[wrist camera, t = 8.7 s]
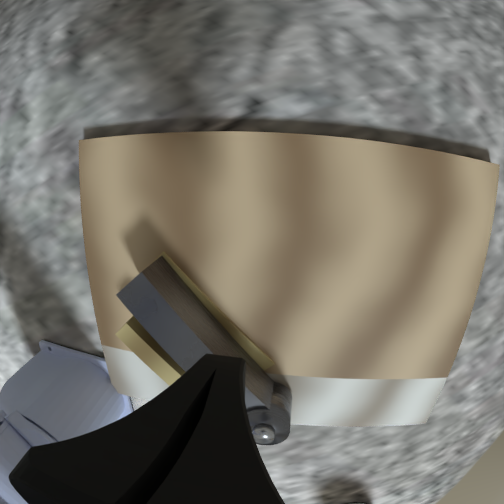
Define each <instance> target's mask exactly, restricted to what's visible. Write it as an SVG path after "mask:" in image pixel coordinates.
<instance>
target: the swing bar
mask: <svg viewBox="0 0 504 504" xmlns="http://www.w3.org/2000/svg"><path fill="white" fill-rule="evenodd" d="M116 296H117V297H118V298H119V299H120V300H121V302H122V303H123V304H124V305H125V306H126V308H127V309H128V310H129V311H130V312H131V313H132V315H133V316H134V317H135V318H136V319H137V320H138V322H139V323H140V324H141V325H142V326H143V327H144V328H145V329H146V331H147V332H148V333H149V334H150V335H151V336H152V337H153V338H154V339H155V340H156V342H157V343H158V344H159V345H160V346H161V347H162V348H163V349H164V350H165V351H166V352H167V353H168V354H169V355H170V356H171V358H172V359H173V360H174V361H175V362H176V363H177V364H178V365H179V366H180V367H181V368H182V369H183V370H184V371H185V372H186V371H188V370H189V369H190V368H191V367H192V366H193V365H194V364H195V363H196V362H197V361H198V360H199V359H200V358H201V357H203V356H204V355H205V354H206V353H207V354H215V355H222V356H231V357H239V358H243V359H244V360H245V361H246V377H245V404H246V409H247V414H248V418H249V423H250V426H251V430H252V433H253V436H254V439H255V442H256V444H259V445H274V444H278V443H281V442H283V441H284V440H285V439H286V438H287V437H288V436H289V433H290V422H291V409H292V394H291V392H290V390H289V389H288V388H287V387H286V386H284V385H283V384H281V383H278V382H274V381H273V380H272V379H271V378H270V377H269V376H268V375H267V374H266V372H265V371H264V370H263V369H262V368H261V367H260V366H259V365H258V364H257V363H256V362H255V361H254V360H253V359H252V358H251V357H250V355H249V354H248V353H247V352H246V351H245V350H244V349H243V348H242V347H241V346H240V345H239V344H238V342H237V341H236V340H235V339H234V338H233V337H232V336H231V335H230V334H229V333H228V331H227V330H226V329H225V328H224V327H223V326H222V325H221V324H220V323H219V321H218V320H217V319H216V318H215V317H214V316H213V315H212V314H211V312H210V311H209V310H208V309H207V308H206V307H205V306H204V304H203V303H202V302H201V301H200V300H199V299H198V297H197V296H196V295H195V294H194V293H193V292H192V290H191V289H190V288H189V287H188V286H187V285H186V283H185V282H184V281H183V280H182V279H181V277H180V276H179V275H178V274H177V273H176V271H175V270H174V269H173V268H172V267H171V265H170V264H169V263H168V262H167V261H166V259H165V258H164V257H163V256H160V257H159V258H158V259H157V260H155V261H154V262H153V263H152V264H151V265H149V266H148V267H147V268H146V269H144V270H143V271H142V272H141V273H140V274H138V275H137V276H136V277H135V278H134V279H133V280H132V281H131V282H129V283H128V284H127V285H126V286H125V287H124V288H123V289H122V290H121V291H119V292H118V293H117V294H116Z"/></svg>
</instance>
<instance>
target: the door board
mask: <svg viewBox="0 0 504 504" xmlns="http://www.w3.org/2000/svg"><path fill="white" fill-rule="evenodd" d="M79 177H80V198H81V213H82V225H83V235H84V244H85V253H86V261H87V268H88V275H89V282H90V288H91V294H92V300H93V305H94V311H95V316H96V321H97V326H98V331H99V335H100V340H101V344H102V349H103V353H104V357H105V361H106V365H107V369H108V373H109V376H110V380H111V384H112V385H113V386H114V388H115V389H116V390H117V392H118V393H119V394H123V395H126V396H130V397H134V398H137V399H141V400H145V401H150V400H152V399H153V398H154V397H156V396H157V395H159V394H160V393H161V392H163V391H164V390H165V389H167V388H168V387H169V386H170V385H171V384H173V383H174V382H175V381H176V380H177V379H178V378H180V377H181V376H182V375H183V374H184V373H185V371H184V370H183V369H182V368H181V367H180V366H179V365H178V364H177V363H176V362H175V361H174V360H173V359H172V358H171V356H170V355H169V354H168V353H167V352H166V351H165V350H164V349H163V348H162V347H161V346H160V345H159V344H158V343H157V342H156V340H155V339H154V338H153V337H152V336H151V335H150V334H149V333H148V332H147V331H146V329H145V328H144V327H143V326H142V325H141V324H140V323H139V322H138V320H137V319H136V318H135V317H134V316H133V315H132V313H131V312H130V311H129V310H128V309H127V308H126V306H125V305H124V304H123V303H122V302H121V300H120V299H119V298H118V297H117V296H116V294H117V293H118V292H119V291H121V290H122V289H123V288H124V287H125V286H126V285H127V284H128V283H129V282H131V281H132V280H133V279H134V278H135V277H136V276H137V275H138V274H140V273H141V272H142V271H143V270H144V269H146V268H147V267H148V266H149V265H151V264H152V263H153V262H154V261H155V260H157V259H158V258H159V257H160V256H163V257H164V258H165V259H166V261H167V262H168V263H169V264H170V265H171V267H172V268H173V269H174V270H175V271H176V273H177V274H178V275H179V276H180V277H181V279H182V280H183V281H184V282H185V283H186V285H187V286H188V287H189V288H190V289H191V290H192V292H193V293H194V294H195V295H196V296H197V297H198V299H199V300H200V301H201V302H202V303H203V304H204V306H205V307H206V308H207V309H208V310H209V311H210V312H211V314H212V315H213V316H214V317H215V318H216V319H217V320H218V321H219V323H220V324H221V325H222V326H223V327H224V328H225V329H226V330H227V331H228V333H229V334H230V335H231V336H232V337H233V338H234V339H235V340H236V341H237V342H238V344H239V345H240V346H241V347H242V348H243V349H244V350H245V351H246V352H247V353H248V354H249V355H250V357H251V358H252V359H253V360H254V361H255V362H256V363H257V364H258V365H259V366H260V367H261V368H262V369H263V370H264V371H265V372H266V374H267V375H268V376H269V377H270V378H271V379H272V380H273V381H274V382H278V383H281V384H283V385H284V386H286V387H287V388H288V389H289V390H290V392H291V394H292V409H291V422H290V424H297V425H314V426H347V427H366V426H398V425H414V424H425V423H426V421H427V420H428V418H429V416H430V414H431V412H432V410H433V408H434V406H435V403H436V401H437V399H438V397H439V395H440V393H441V391H442V388H443V386H444V384H445V382H446V379H447V377H448V375H449V372H450V370H451V367H452V365H453V362H454V360H455V357H456V355H457V352H458V350H459V347H460V344H461V341H462V339H463V336H464V333H465V330H466V327H467V324H468V321H469V318H470V315H471V312H472V308H473V305H474V302H475V298H476V295H477V291H478V287H479V284H480V280H481V276H482V272H483V268H484V263H485V259H486V255H487V250H488V245H489V240H490V235H491V229H492V223H493V217H494V210H495V203H496V196H497V187H498V177H499V165H498V164H494V163H490V162H486V161H482V160H478V159H473V158H469V157H464V156H460V155H455V154H450V153H445V152H440V151H435V150H429V149H424V148H418V147H412V146H406V145H399V144H393V143H386V142H378V141H371V140H362V139H354V138H344V137H334V136H323V135H310V134H295V133H276V132H243V131H203V132H170V133H151V134H136V135H124V136H113V137H103V138H94V139H85V140H79Z"/></svg>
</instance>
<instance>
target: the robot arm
mask: <svg viewBox="0 0 504 504" xmlns="http://www.w3.org/2000/svg"><path fill="white" fill-rule="evenodd" d="M39 346H40V349H41V351H40V352H38V353H37V354H36V355H35V356H34V357H33V358H32V359H31V360H29V361H28V362H27V363H26V364H25V365H24V366H23V367H22V368H21V369H19V370H18V371H17V372H16V373H15V374H14V375H13V376H12V377H11V378H10V379H9V380H8V381H7V382H6V383H5V384H4V386H3V387H2V390H1V392H0V504H285V503H284V501H283V500H282V498H281V497H280V495H279V493H278V491H277V489H276V488H275V486H274V484H273V482H272V480H271V478H270V476H269V474H268V472H267V469H266V467H265V465H264V463H263V461H262V458H261V456H260V453H259V451H258V448H257V445H256V442H255V439H254V436H253V433H252V430H251V426H250V423H249V418H248V414H247V409H246V404H245V377H246V361H245V360H244V359H243V358H239V357H231V356H222V355H215V354H207V353H206V354H205V355H204V356H203V357H201V358H200V359H199V360H198V361H197V362H196V363H195V364H194V365H193V366H192V367H191V368H190V369H189V370H188V371H186V372H185V373H184V374H183V375H182V376H181V377H180V378H178V379H177V380H176V381H175V382H174V383H173V384H171V385H170V386H169V387H168V388H167V389H165V390H164V391H163V392H161V393H160V394H159V395H157V396H156V397H154V398H153V399H152V400H150V401H149V402H148V403H146V404H145V405H143V406H142V407H140V408H138V409H137V410H135V411H133V408H132V405H131V401H130V397H129V396H126V395H123V394H119V393H118V392H117V390H116V389H115V388H114V386H113V385H112V384H111V380H110V376H109V373H108V369H107V365H106V361H105V358H101V357H98V356H94V355H90V354H87V353H83V352H80V351H76V350H73V349H70V348H66V347H63V346H60V345H57V344H54V343H50V342H47V341H44V340H41V341H40V342H39Z"/></svg>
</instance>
